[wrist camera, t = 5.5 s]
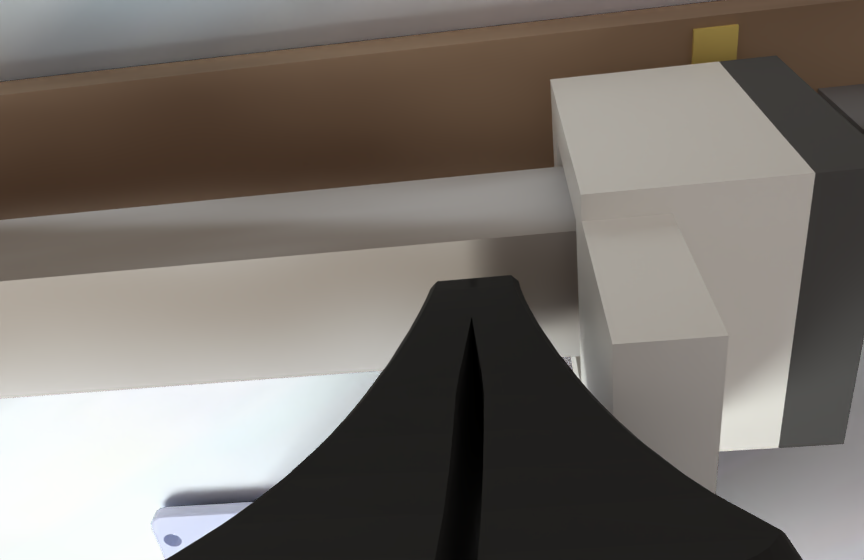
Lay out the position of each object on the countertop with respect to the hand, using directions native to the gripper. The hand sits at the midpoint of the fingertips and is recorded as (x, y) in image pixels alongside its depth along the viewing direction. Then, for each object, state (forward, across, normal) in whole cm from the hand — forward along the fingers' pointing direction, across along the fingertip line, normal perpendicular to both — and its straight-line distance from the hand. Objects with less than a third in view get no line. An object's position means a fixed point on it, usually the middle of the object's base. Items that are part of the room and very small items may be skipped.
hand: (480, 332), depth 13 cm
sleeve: (+4, -3, 0) cm, 5 cm away
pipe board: (+6, +4, 0) cm, 7 cm away
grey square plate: (+4, -5, 0) cm, 7 cm away
